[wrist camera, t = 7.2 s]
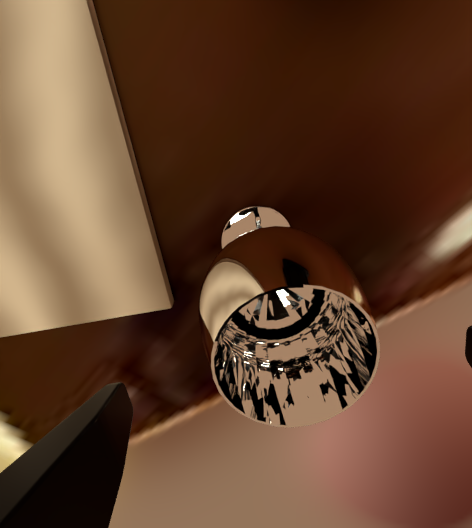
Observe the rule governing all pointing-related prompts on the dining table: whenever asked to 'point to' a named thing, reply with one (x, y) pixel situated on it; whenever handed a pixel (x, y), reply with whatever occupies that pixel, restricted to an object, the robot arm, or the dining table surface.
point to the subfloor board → (68, 178)
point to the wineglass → (285, 323)
